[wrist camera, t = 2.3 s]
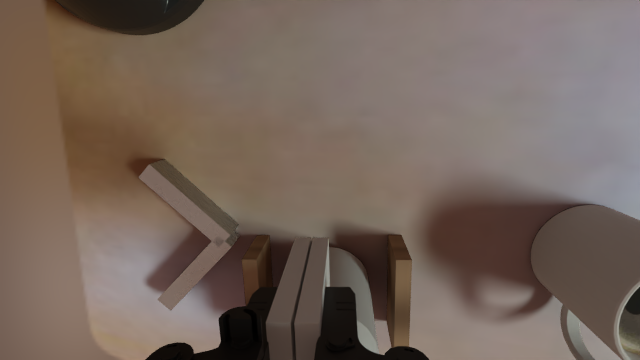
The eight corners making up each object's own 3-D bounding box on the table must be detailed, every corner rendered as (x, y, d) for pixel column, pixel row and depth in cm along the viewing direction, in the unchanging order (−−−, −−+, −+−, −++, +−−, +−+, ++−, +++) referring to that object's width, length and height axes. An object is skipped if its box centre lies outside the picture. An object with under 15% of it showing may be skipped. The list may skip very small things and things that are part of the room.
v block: (152, 159, 31) (136, 164, 29) (232, 157, 31) (223, 163, 28) (172, 295, 35) (159, 310, 32) (245, 296, 34) (237, 311, 32)
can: (283, 302, 34) (251, 409, 22) (300, 233, 32) (275, 311, 20) (356, 321, 34) (363, 439, 22) (378, 254, 32) (397, 343, 20)
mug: (600, 183, 29) (728, 226, 20) (658, 264, 30) (805, 342, 21) (490, 257, 31) (556, 328, 22) (548, 329, 33) (635, 427, 23)
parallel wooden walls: (257, 235, 32) (241, 259, 28) (401, 235, 31) (411, 260, 27) (263, 319, 34) (250, 355, 30) (399, 321, 34) (408, 359, 29)
